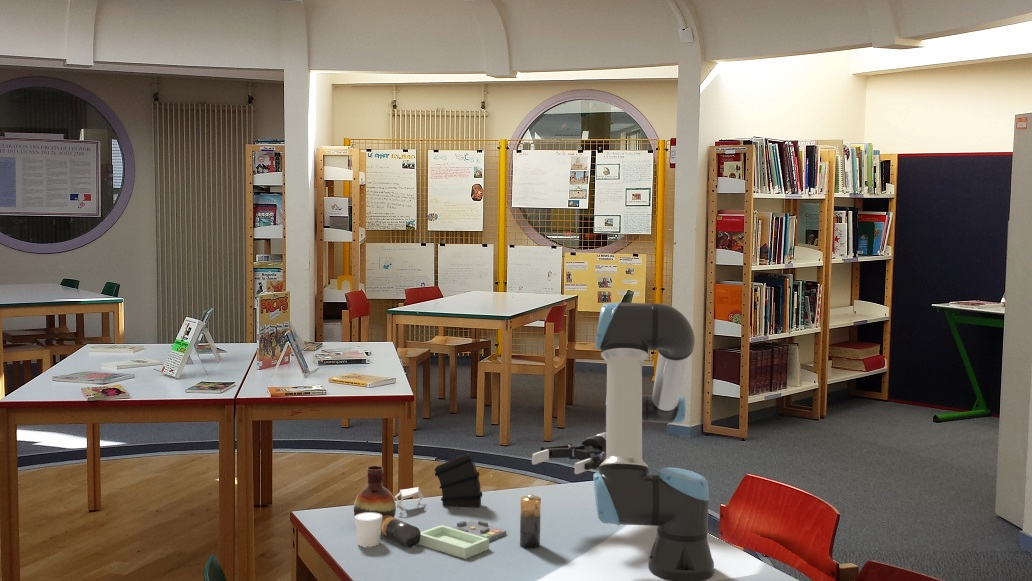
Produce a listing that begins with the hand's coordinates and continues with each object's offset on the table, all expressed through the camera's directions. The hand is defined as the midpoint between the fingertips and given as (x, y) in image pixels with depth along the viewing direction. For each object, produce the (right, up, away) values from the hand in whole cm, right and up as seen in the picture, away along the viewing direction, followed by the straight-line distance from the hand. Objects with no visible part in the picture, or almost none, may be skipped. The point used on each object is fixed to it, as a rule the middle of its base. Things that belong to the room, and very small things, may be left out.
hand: (554, 463), depth 239 cm
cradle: (-20, -18, +2) cm, 27 cm away
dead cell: (-39, -19, -5) cm, 44 cm away
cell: (-6, -19, -6) cm, 21 cm away
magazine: (-26, -17, +26) cm, 41 cm away
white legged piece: (-40, -17, +21) cm, 49 cm away
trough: (-26, -19, -8) cm, 33 cm away
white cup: (-47, -19, -7) cm, 51 cm away
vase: (-47, -18, +7) cm, 51 cm away
